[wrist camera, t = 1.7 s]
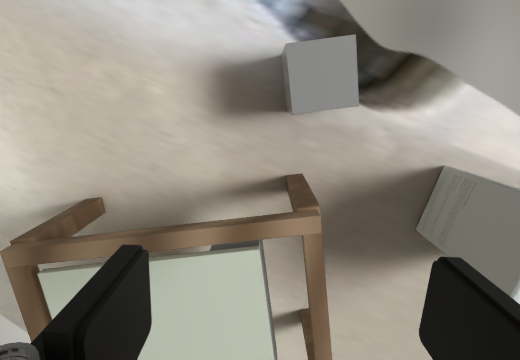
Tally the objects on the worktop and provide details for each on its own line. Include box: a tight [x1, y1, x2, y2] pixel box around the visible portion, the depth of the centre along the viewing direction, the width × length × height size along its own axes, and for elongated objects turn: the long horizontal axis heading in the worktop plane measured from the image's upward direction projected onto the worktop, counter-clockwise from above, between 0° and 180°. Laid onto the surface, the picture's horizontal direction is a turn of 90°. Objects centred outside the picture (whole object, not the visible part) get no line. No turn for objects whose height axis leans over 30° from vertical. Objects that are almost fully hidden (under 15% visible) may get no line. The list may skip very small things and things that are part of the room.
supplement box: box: [416, 166, 520, 304], centre depth 26 cm, size 7×7×13 cm
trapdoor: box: [38, 240, 277, 360], centre depth 25 cm, size 15×13×5 cm
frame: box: [0, 174, 332, 360], centre depth 28 cm, size 22×17×11 cm
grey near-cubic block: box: [281, 34, 359, 114], centre depth 26 cm, size 5×5×6 cm
